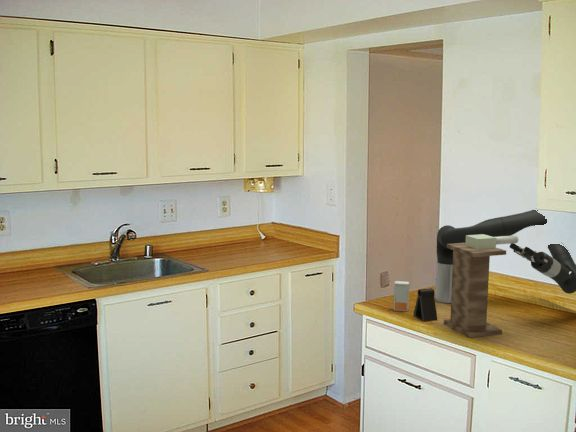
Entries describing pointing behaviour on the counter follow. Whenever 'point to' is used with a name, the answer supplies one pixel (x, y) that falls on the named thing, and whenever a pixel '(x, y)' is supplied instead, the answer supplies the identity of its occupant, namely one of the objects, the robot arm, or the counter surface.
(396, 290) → the skincare box
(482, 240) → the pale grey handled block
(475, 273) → the walnut stand
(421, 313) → the phone stand
